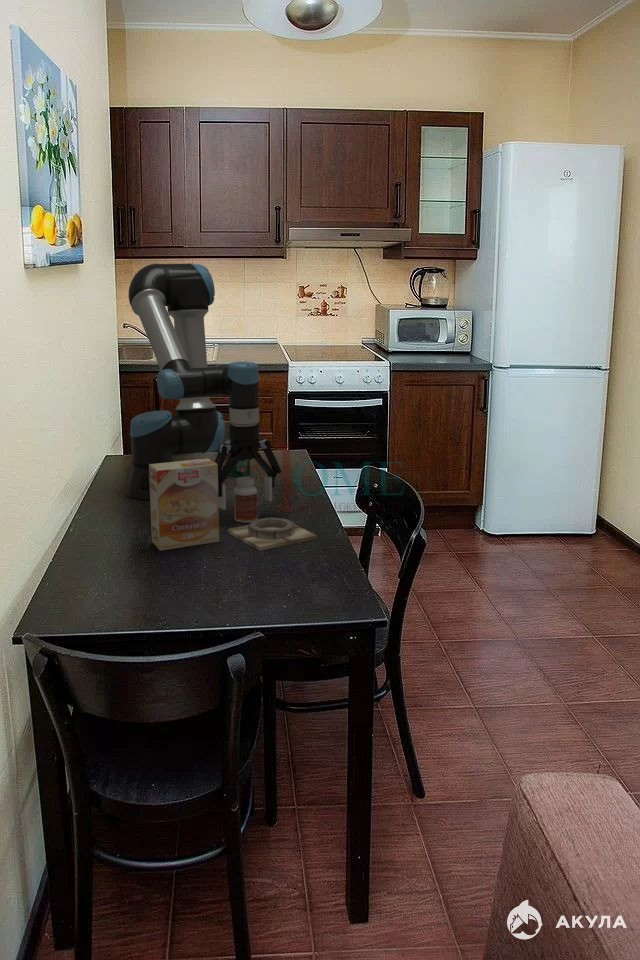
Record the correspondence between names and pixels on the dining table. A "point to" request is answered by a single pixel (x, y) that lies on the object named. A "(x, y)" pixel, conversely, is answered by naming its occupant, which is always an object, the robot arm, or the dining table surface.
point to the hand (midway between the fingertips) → (245, 504)
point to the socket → (271, 533)
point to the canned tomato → (238, 466)
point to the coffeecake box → (184, 503)
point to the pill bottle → (245, 500)
